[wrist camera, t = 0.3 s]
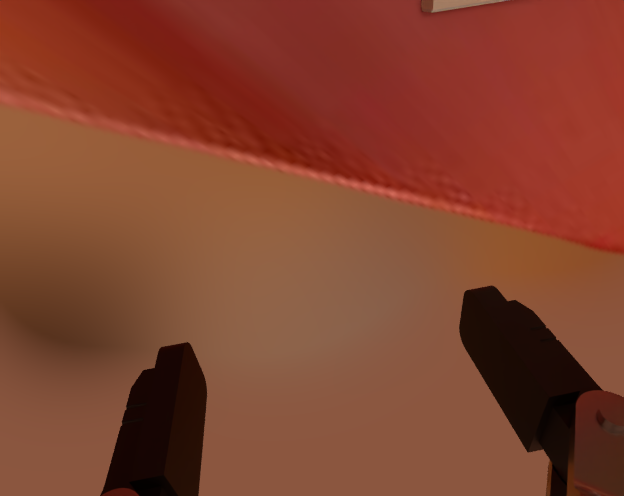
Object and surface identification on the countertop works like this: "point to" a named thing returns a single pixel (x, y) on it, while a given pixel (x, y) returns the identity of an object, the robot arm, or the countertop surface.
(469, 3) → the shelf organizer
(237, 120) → the countertop surface
